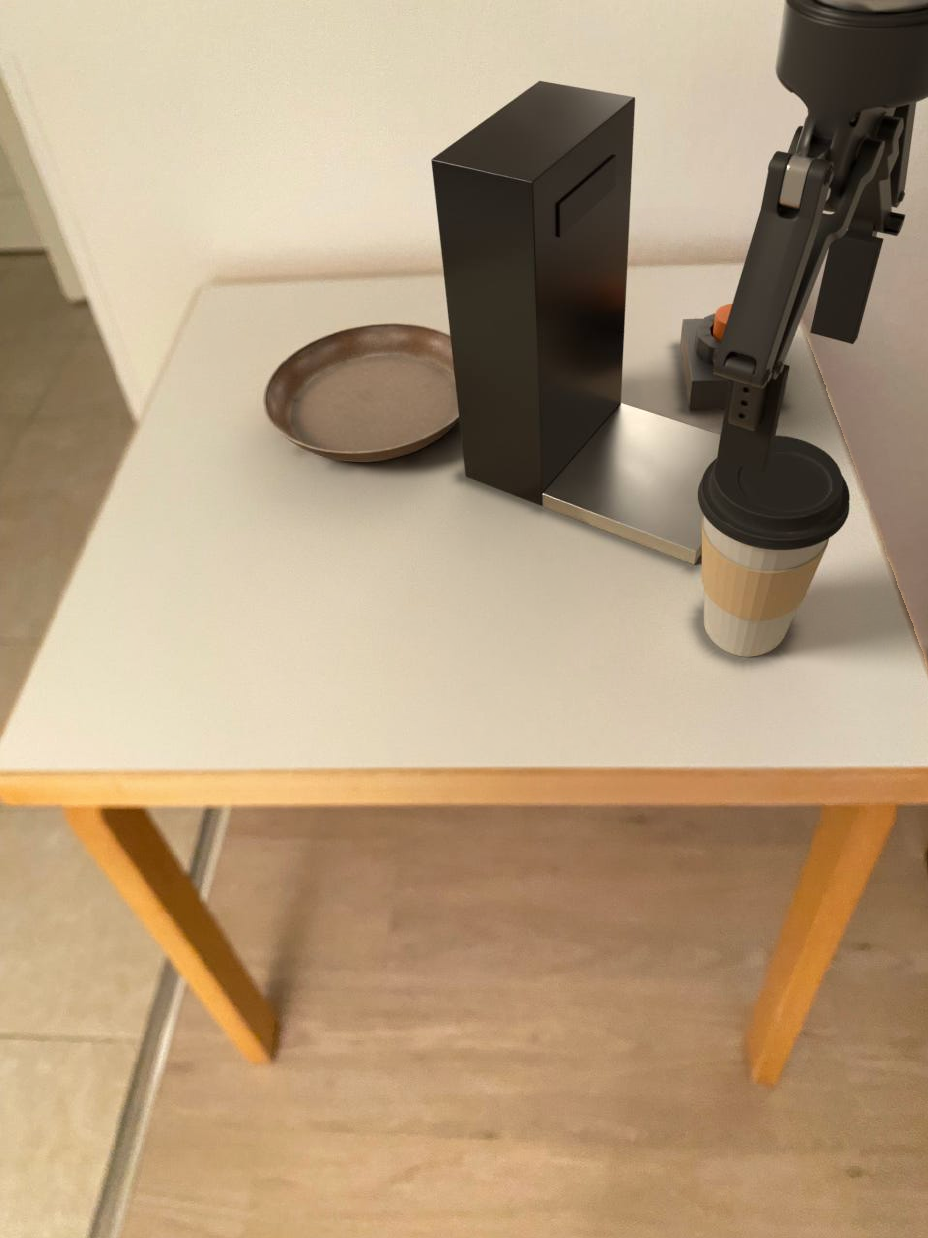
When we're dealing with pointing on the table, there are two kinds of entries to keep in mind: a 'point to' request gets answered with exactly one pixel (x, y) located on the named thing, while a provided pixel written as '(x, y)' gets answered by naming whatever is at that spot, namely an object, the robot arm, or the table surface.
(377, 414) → the plant saucer
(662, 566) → the table surface
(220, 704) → the table surface
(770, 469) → the coffee cup
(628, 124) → the coffee maker
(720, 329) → the button
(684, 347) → the control block
